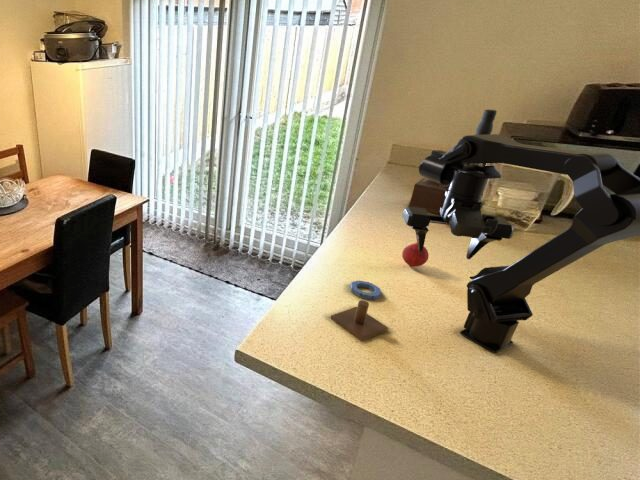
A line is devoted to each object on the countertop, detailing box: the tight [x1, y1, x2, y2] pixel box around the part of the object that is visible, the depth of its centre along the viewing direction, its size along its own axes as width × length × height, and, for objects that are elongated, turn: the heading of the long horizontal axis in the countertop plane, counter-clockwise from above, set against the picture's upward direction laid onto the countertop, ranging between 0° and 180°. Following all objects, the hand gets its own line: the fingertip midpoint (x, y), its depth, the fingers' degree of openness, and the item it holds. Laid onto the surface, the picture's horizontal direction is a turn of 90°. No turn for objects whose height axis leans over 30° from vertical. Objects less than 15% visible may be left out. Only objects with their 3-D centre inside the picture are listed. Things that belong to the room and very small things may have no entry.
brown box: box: [408, 163, 467, 215], centre depth 142 cm, size 16×11×18 cm
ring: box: [349, 280, 382, 301], centre depth 98 cm, size 6×6×1 cm
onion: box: [401, 241, 429, 268], centre depth 107 cm, size 6×6×8 cm
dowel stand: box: [330, 299, 389, 341], centre depth 86 cm, size 8×8×6 cm
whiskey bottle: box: [467, 109, 498, 167], centre depth 155 cm, size 10×10×32 cm
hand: (443, 254), depth 91 cm, fingers open, 9 cm apart
